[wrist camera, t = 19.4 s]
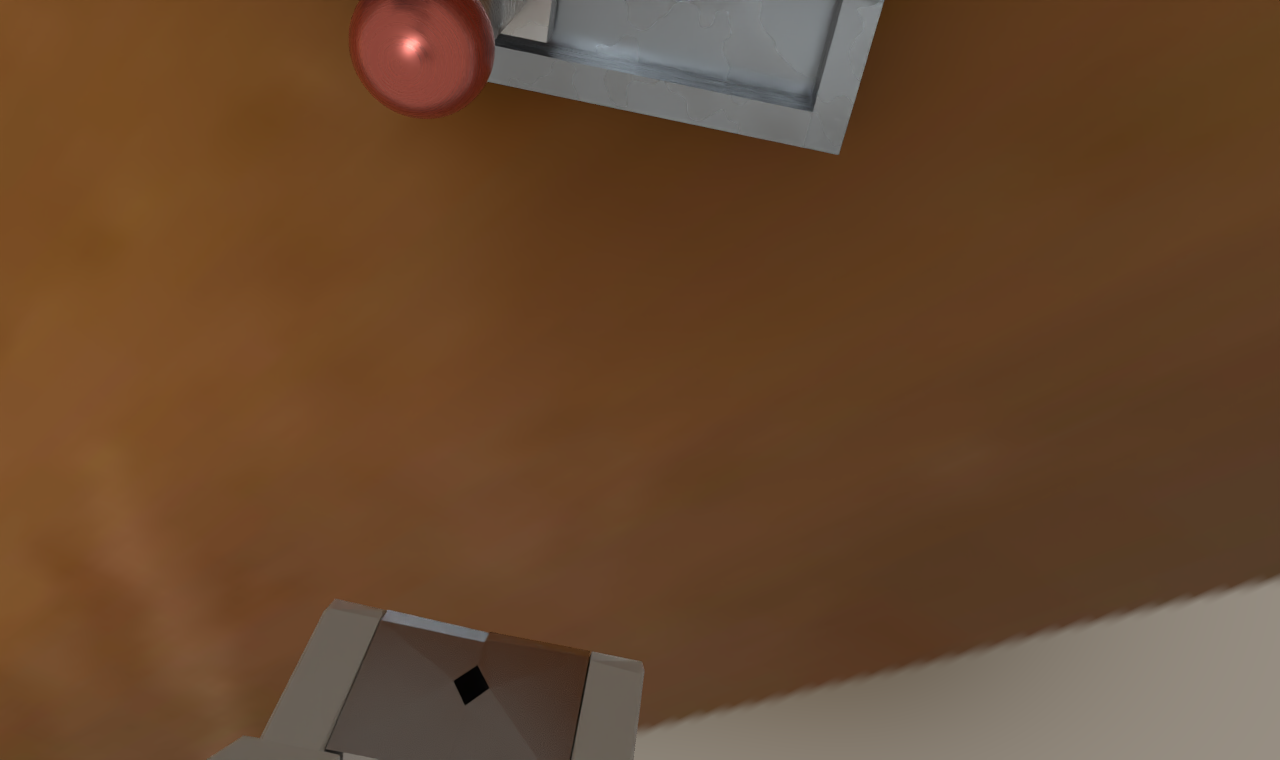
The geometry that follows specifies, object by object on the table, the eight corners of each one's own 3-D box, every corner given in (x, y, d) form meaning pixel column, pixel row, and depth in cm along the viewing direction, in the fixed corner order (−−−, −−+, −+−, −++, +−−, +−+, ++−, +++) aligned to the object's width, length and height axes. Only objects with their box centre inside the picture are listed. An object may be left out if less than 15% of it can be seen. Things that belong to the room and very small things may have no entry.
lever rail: (393, -155, 33) (366, -147, 31) (885, -51, 33) (894, -36, 31) (384, 35, 36) (360, 55, 34) (834, 129, 36) (838, 155, 34)
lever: (441, -96, 32) (319, -33, 24) (566, -69, 32) (492, 4, 24) (432, 21, 34) (318, 120, 25) (551, 45, 34) (477, 153, 26)
